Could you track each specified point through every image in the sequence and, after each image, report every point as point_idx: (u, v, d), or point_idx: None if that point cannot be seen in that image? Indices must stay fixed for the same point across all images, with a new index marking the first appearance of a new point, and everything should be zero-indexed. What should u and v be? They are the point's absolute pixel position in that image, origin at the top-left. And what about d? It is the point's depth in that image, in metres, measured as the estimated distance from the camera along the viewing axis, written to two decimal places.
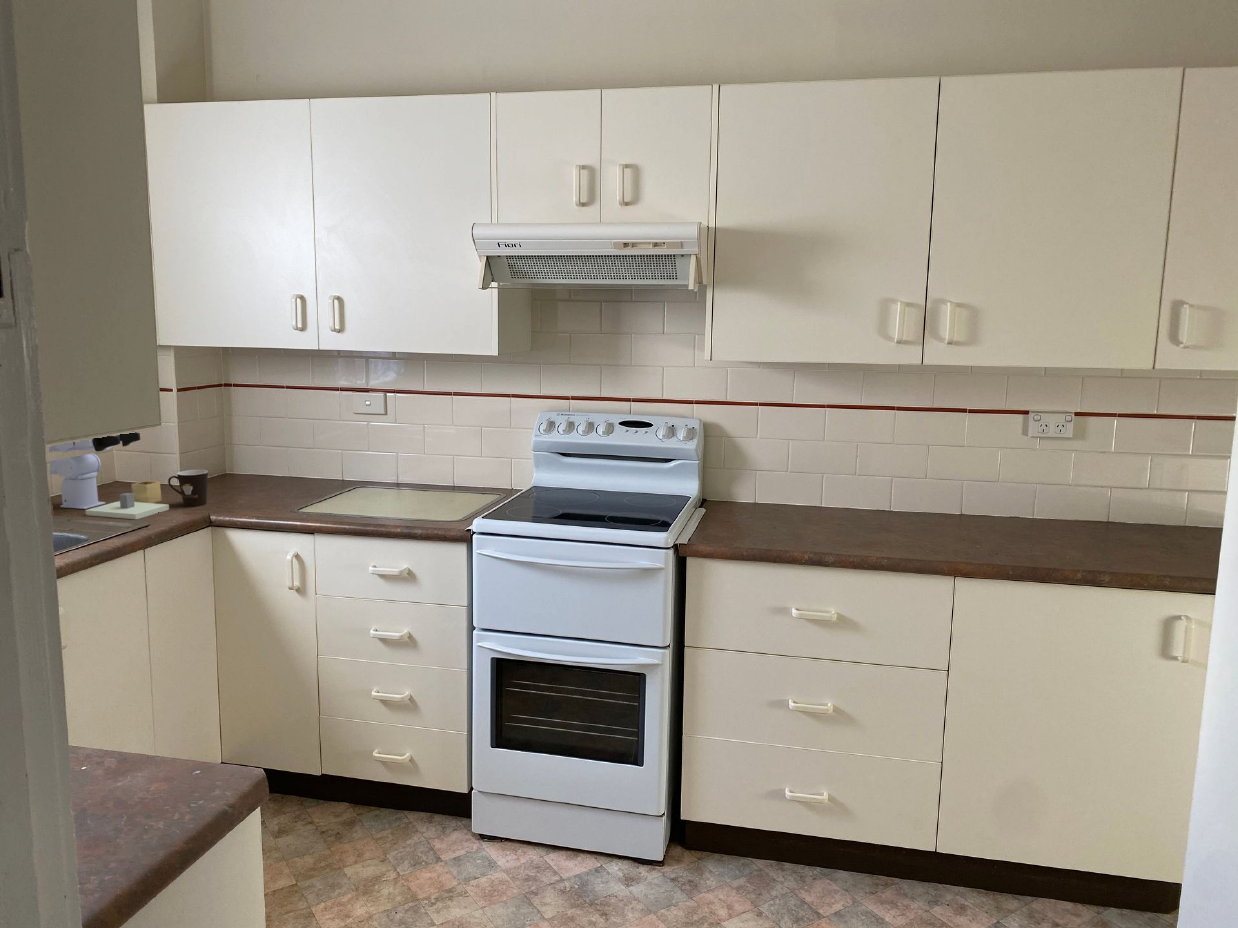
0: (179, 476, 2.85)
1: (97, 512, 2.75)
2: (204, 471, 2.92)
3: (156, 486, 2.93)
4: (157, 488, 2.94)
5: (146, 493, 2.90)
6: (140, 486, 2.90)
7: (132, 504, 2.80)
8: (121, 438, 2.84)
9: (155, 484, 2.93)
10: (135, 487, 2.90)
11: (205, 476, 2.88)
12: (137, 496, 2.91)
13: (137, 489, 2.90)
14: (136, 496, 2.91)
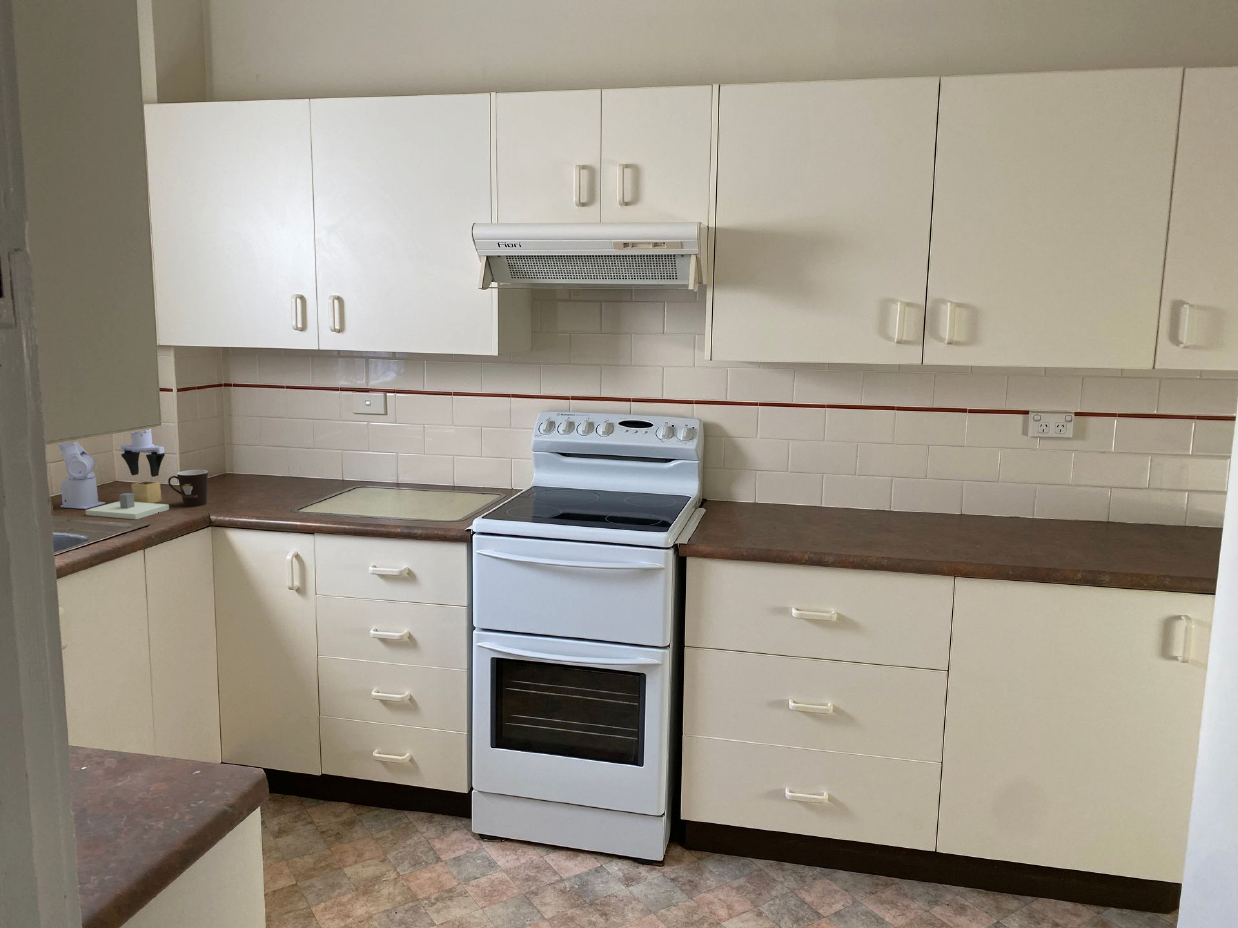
0: (179, 476, 2.85)
1: (97, 512, 2.75)
2: (204, 471, 2.92)
3: (156, 486, 2.93)
4: (157, 488, 2.94)
5: (146, 493, 2.90)
6: (140, 486, 2.90)
7: (132, 504, 2.80)
8: (132, 454, 2.92)
9: (155, 484, 2.93)
10: (135, 487, 2.90)
11: (205, 476, 2.88)
12: (137, 496, 2.91)
13: (137, 489, 2.90)
14: (136, 496, 2.91)
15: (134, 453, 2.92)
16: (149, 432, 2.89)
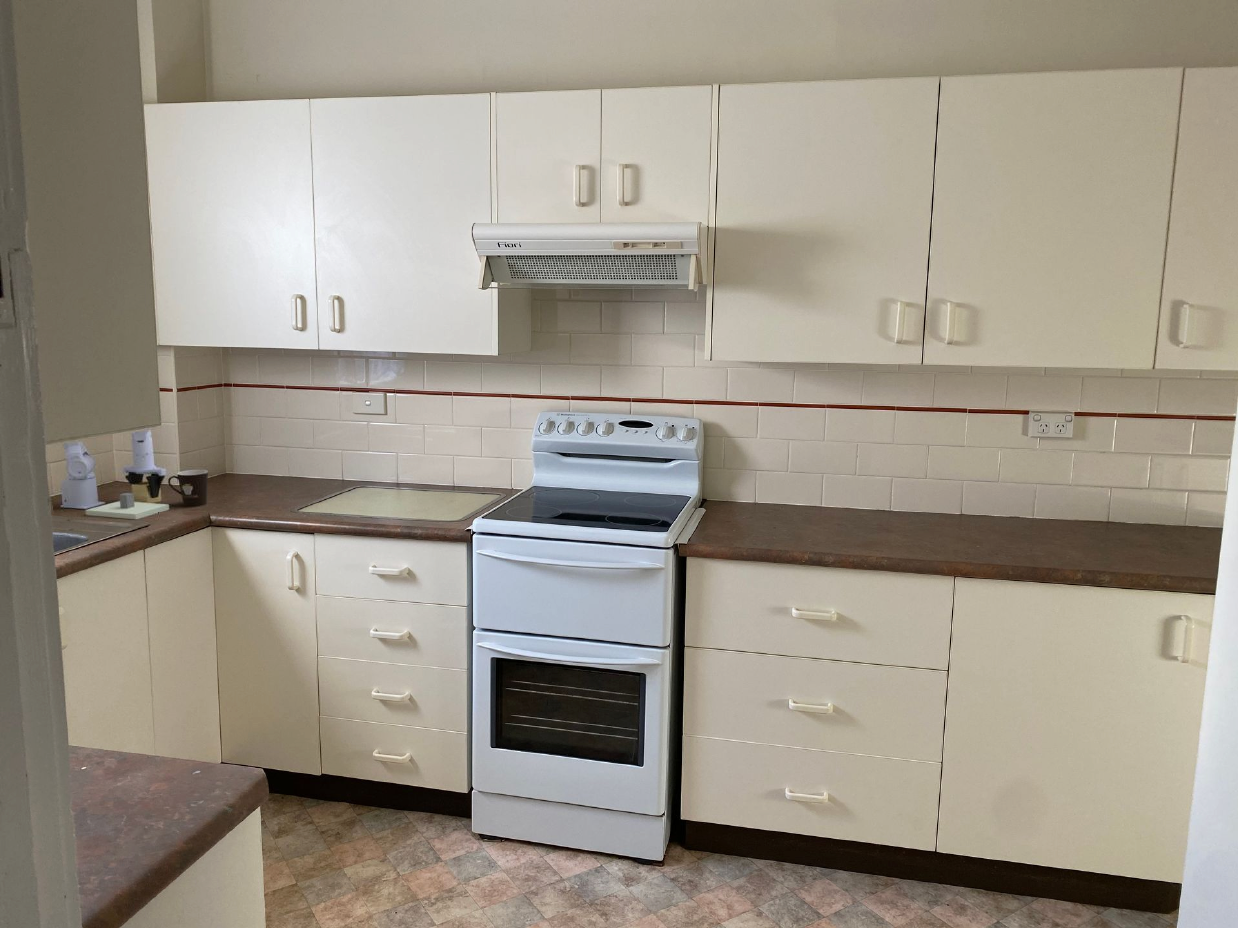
0: (179, 476, 2.85)
1: (97, 512, 2.75)
2: (204, 471, 2.92)
3: None
4: None
5: (146, 493, 2.90)
6: (140, 486, 2.90)
7: (132, 504, 2.80)
8: (136, 475, 2.93)
9: None
10: (135, 487, 2.90)
11: (205, 476, 2.88)
12: (137, 496, 2.91)
13: (137, 489, 2.90)
14: (136, 496, 2.91)
15: (138, 475, 2.93)
16: (151, 454, 2.90)
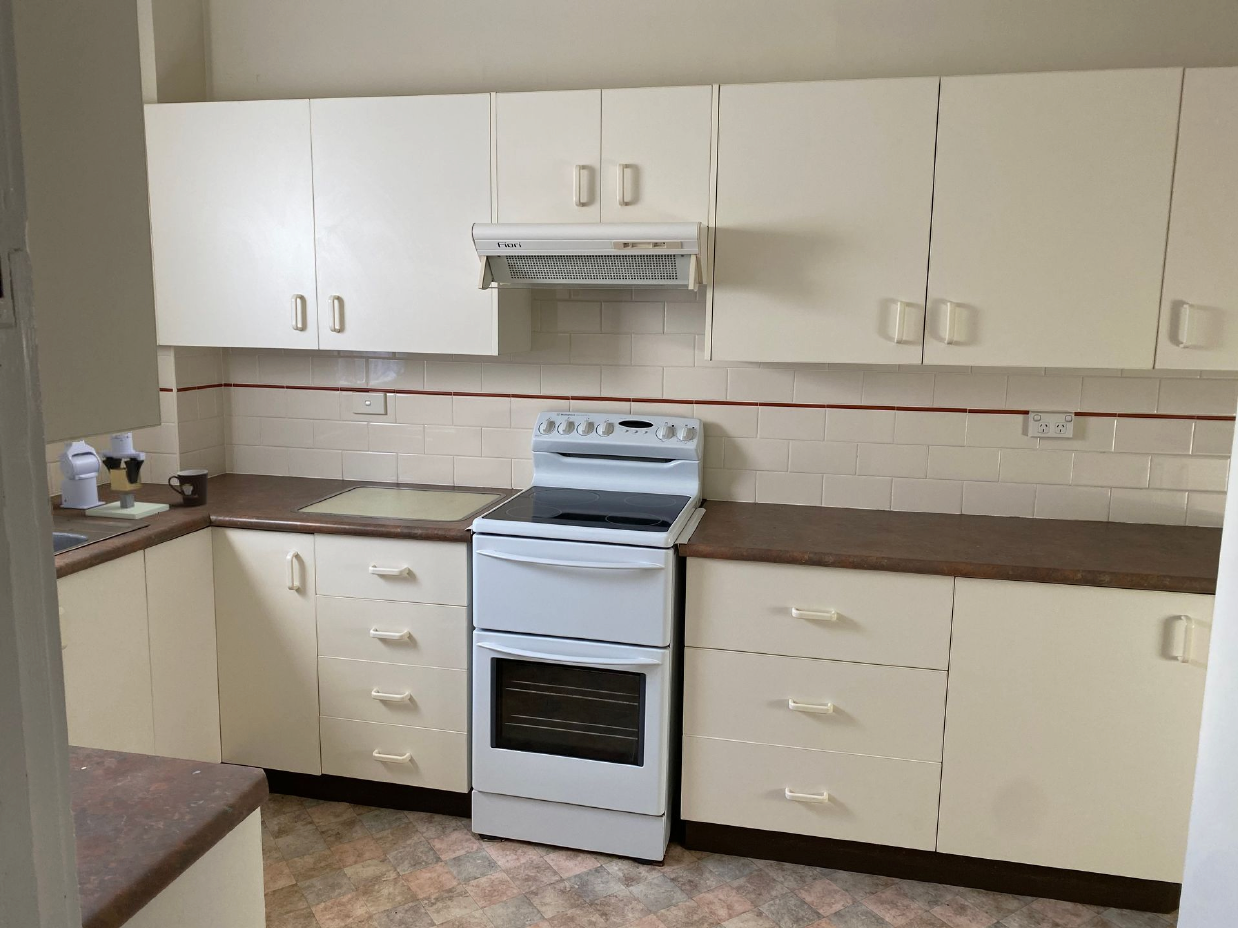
0: (179, 476, 2.85)
1: (97, 512, 2.75)
2: (204, 471, 2.92)
3: None
4: None
5: (125, 479, 2.75)
6: (119, 471, 2.75)
7: (132, 504, 2.80)
8: (114, 460, 2.78)
9: None
10: (114, 472, 2.76)
11: (205, 476, 2.88)
12: (116, 482, 2.76)
13: (116, 474, 2.76)
14: (115, 482, 2.76)
15: (116, 459, 2.78)
16: (129, 437, 2.76)
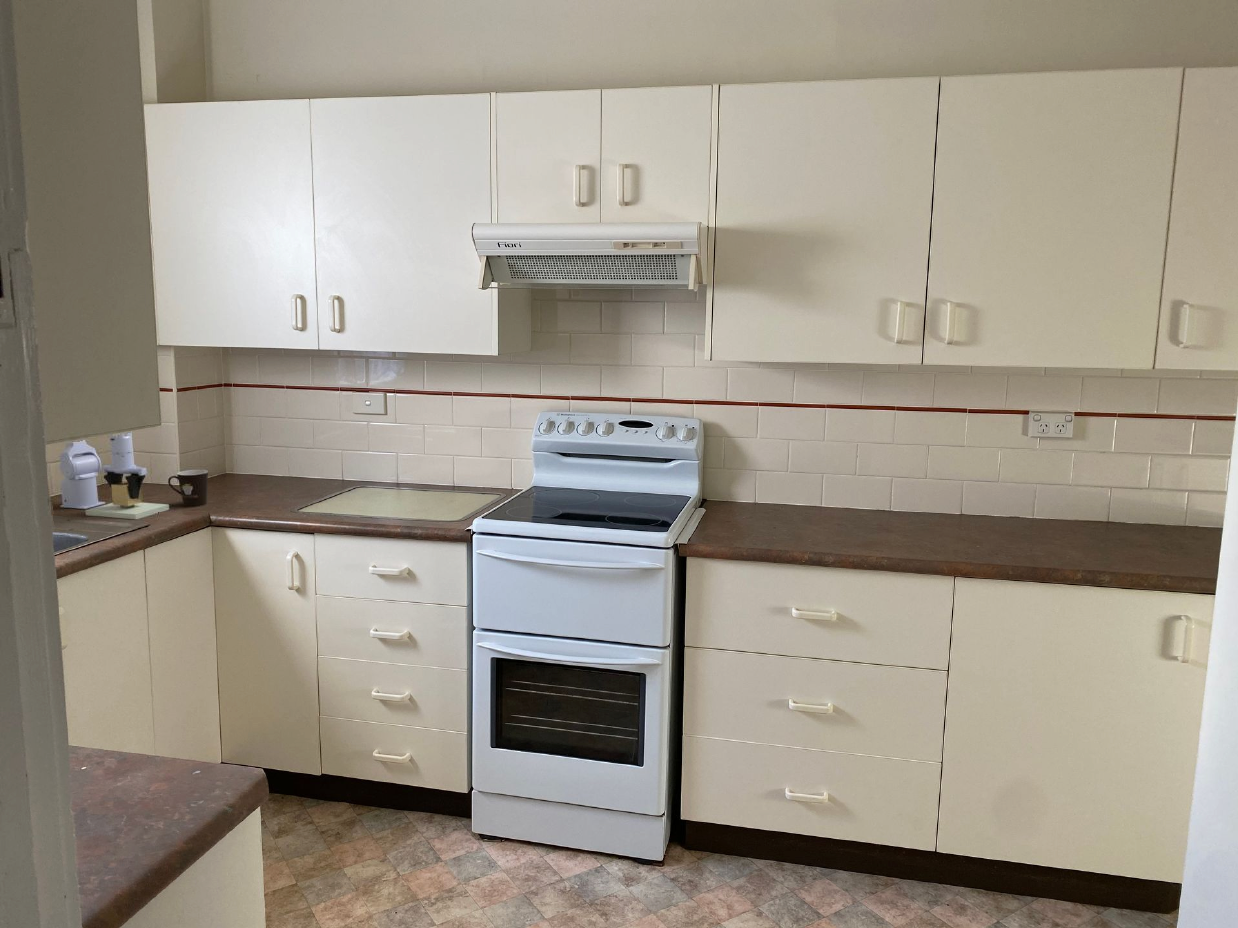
0: (179, 476, 2.85)
1: (97, 512, 2.75)
2: (204, 471, 2.92)
3: None
4: None
5: (126, 494, 2.76)
6: (120, 486, 2.76)
7: None
8: (115, 475, 2.79)
9: None
10: (115, 487, 2.77)
11: (205, 476, 2.88)
12: (117, 497, 2.77)
13: (117, 490, 2.77)
14: (116, 497, 2.77)
15: (117, 474, 2.79)
16: (131, 453, 2.76)
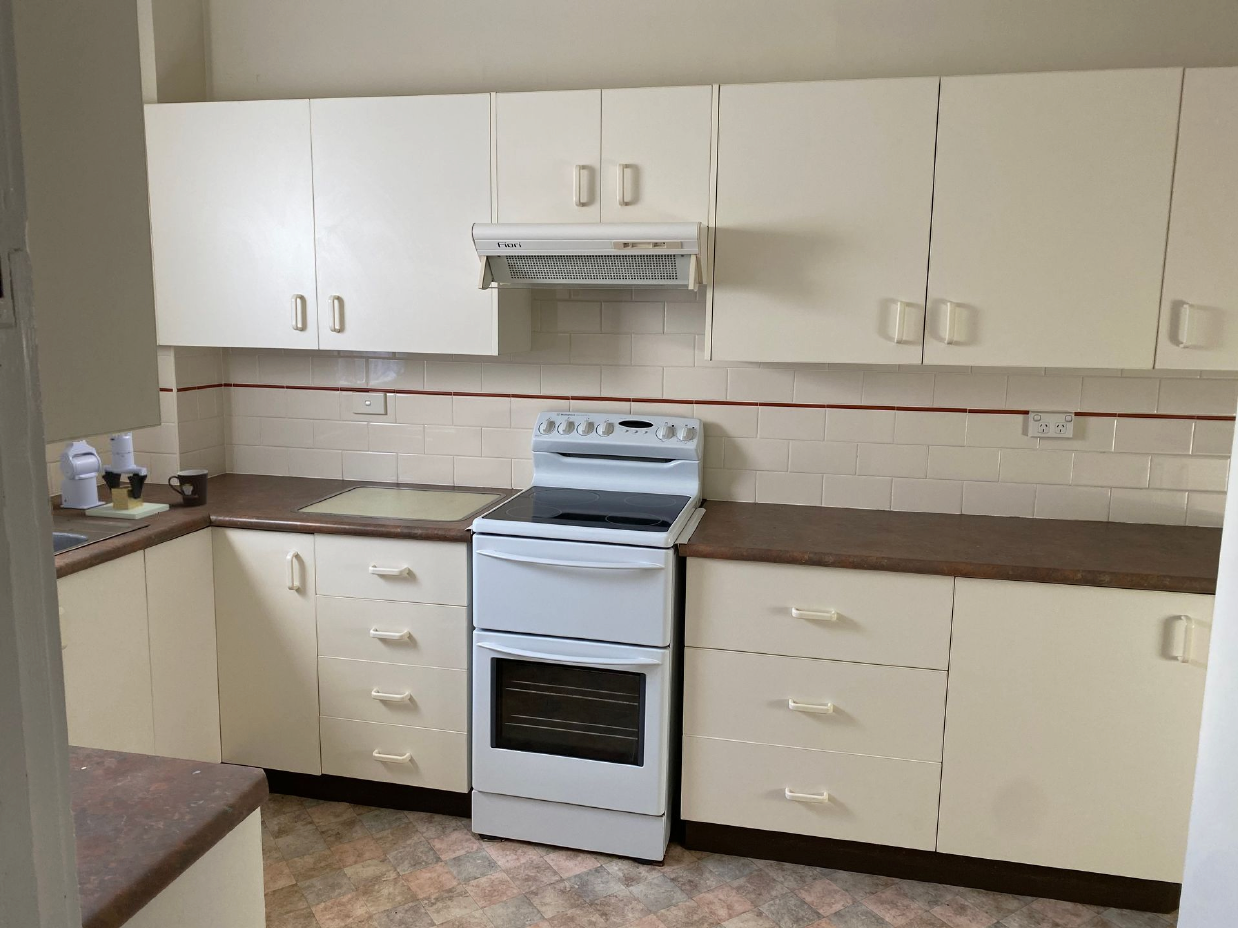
0: (179, 476, 2.85)
1: (97, 512, 2.75)
2: (204, 471, 2.92)
3: None
4: None
5: (127, 498, 2.76)
6: (120, 490, 2.76)
7: None
8: (113, 475, 2.79)
9: None
10: (115, 491, 2.77)
11: (205, 476, 2.88)
12: (117, 501, 2.77)
13: (117, 494, 2.77)
14: (116, 501, 2.77)
15: (115, 474, 2.79)
16: (131, 452, 2.76)
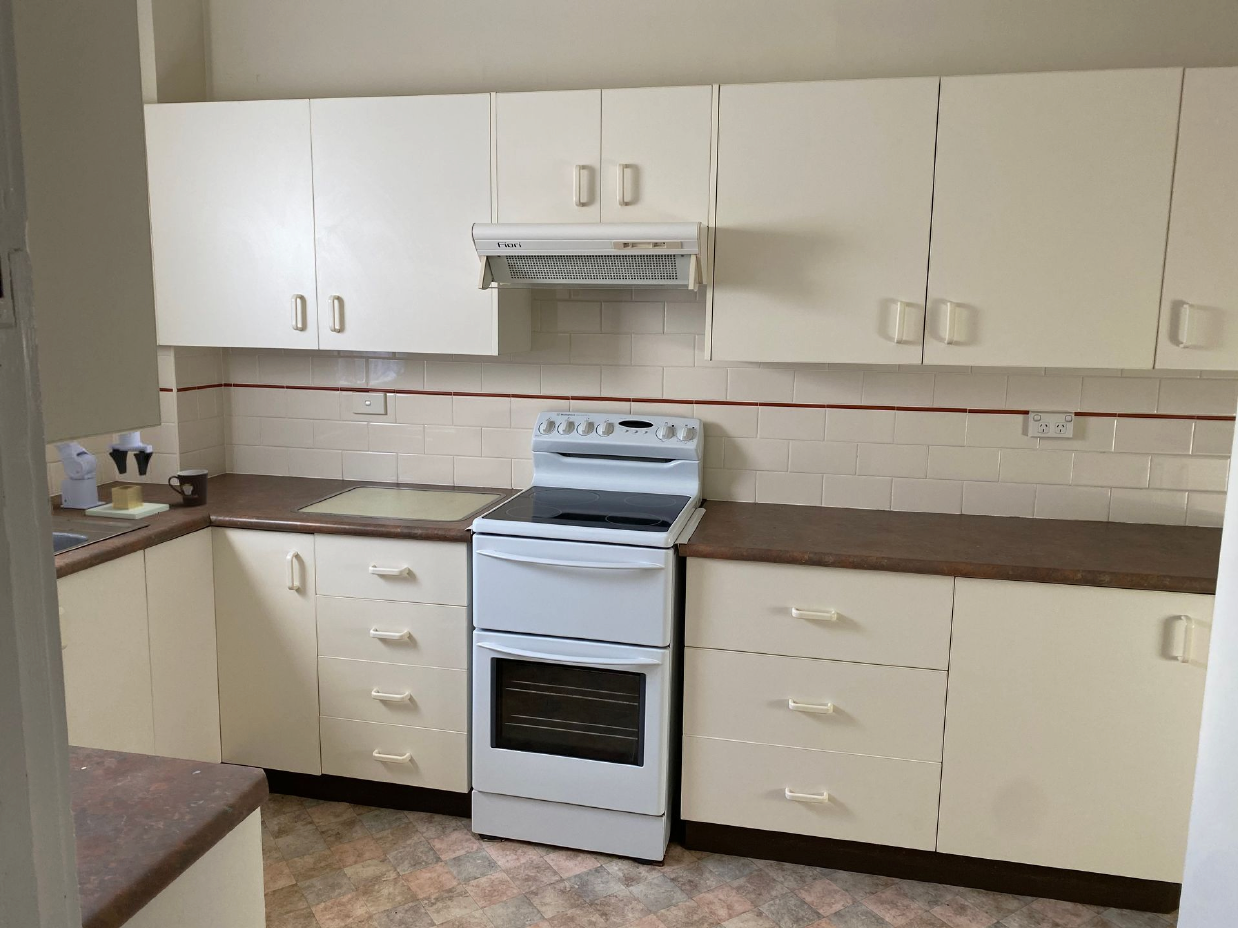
0: (179, 476, 2.85)
1: (97, 512, 2.75)
2: (204, 471, 2.92)
3: (137, 490, 2.79)
4: (138, 492, 2.80)
5: (127, 498, 2.76)
6: (120, 490, 2.76)
7: None
8: (120, 452, 2.88)
9: (136, 488, 2.79)
10: (115, 491, 2.77)
11: (205, 476, 2.88)
12: (117, 501, 2.77)
13: (117, 494, 2.77)
14: (116, 501, 2.77)
15: (122, 452, 2.89)
16: None
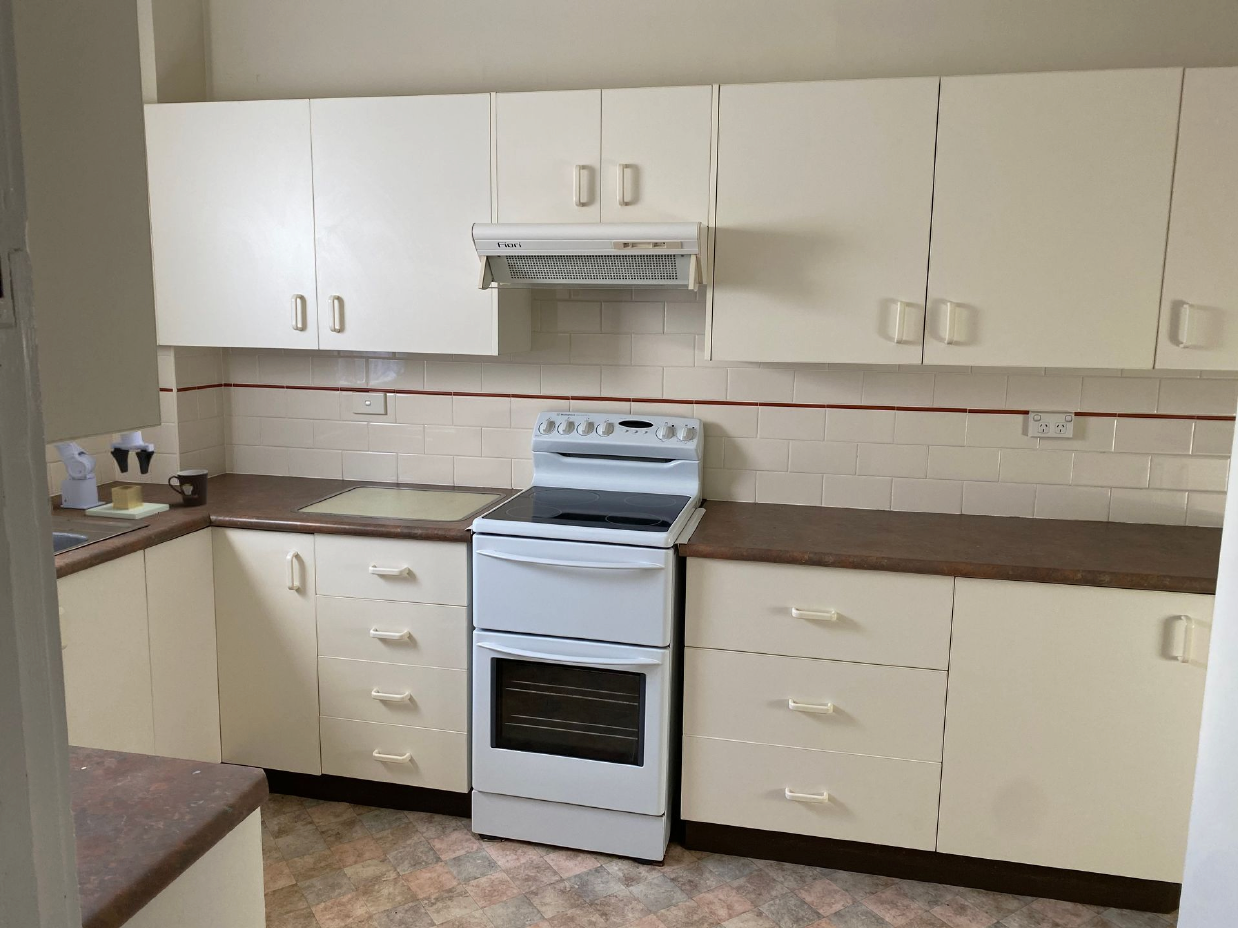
0: (179, 476, 2.85)
1: (97, 512, 2.75)
2: (204, 471, 2.92)
3: (137, 490, 2.79)
4: (138, 492, 2.80)
5: (127, 498, 2.76)
6: (120, 490, 2.76)
7: None
8: (122, 451, 2.90)
9: (136, 488, 2.79)
10: (115, 491, 2.77)
11: (205, 476, 2.88)
12: (117, 501, 2.77)
13: (117, 494, 2.77)
14: (116, 501, 2.77)
15: (123, 451, 2.91)
16: None
